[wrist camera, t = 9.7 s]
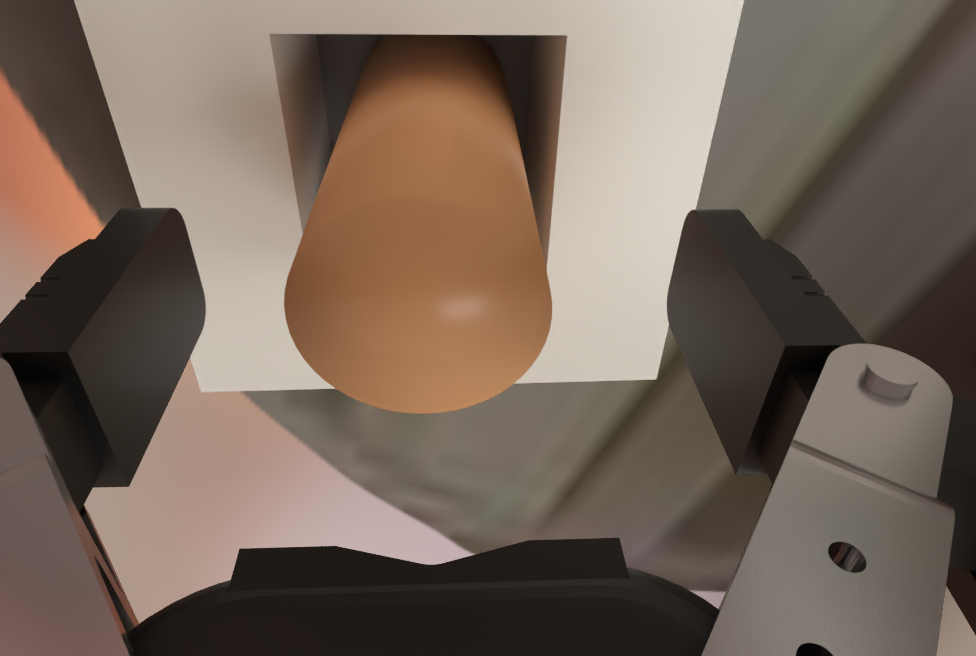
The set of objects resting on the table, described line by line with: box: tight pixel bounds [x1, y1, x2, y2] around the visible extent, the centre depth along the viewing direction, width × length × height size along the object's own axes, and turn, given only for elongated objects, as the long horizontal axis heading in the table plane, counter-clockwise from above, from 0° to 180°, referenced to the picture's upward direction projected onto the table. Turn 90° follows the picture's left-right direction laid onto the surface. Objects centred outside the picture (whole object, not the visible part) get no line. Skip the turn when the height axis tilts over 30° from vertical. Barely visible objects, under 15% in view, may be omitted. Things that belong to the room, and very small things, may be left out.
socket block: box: [74, 0, 744, 392], centre depth 16 cm, size 12×12×6 cm
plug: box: [284, 34, 552, 414], centre depth 14 cm, size 4×4×10 cm
